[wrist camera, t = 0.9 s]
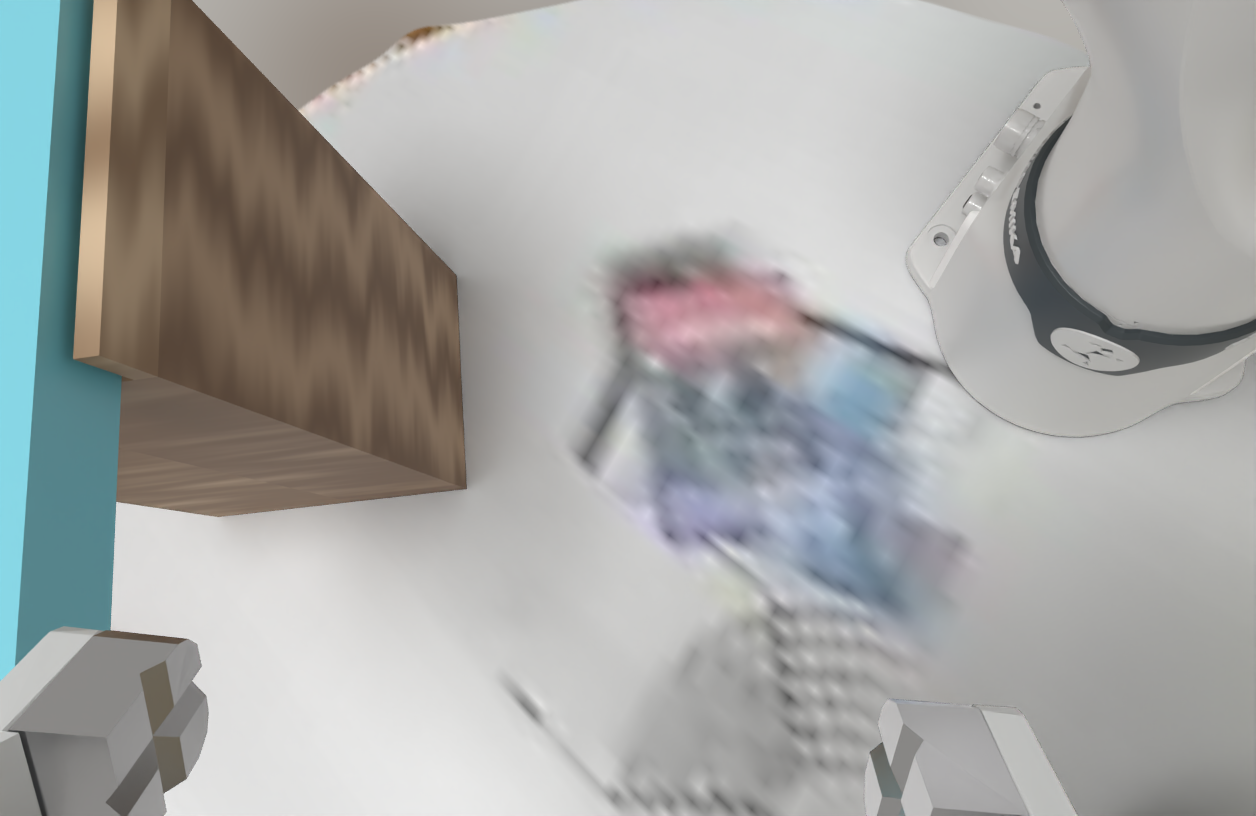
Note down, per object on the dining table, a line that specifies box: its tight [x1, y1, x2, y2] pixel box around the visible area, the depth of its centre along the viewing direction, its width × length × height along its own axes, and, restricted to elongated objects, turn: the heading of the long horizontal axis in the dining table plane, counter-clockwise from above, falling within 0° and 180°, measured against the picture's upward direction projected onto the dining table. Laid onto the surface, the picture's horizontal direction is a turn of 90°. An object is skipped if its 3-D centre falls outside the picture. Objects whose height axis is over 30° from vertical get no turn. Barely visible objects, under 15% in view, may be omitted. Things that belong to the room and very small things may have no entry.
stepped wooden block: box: [73, 0, 466, 517], centre depth 41 cm, size 14×16×30 cm
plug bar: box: [0, 0, 122, 681], centre depth 25 cm, size 21×3×3 cm, turn 5°
